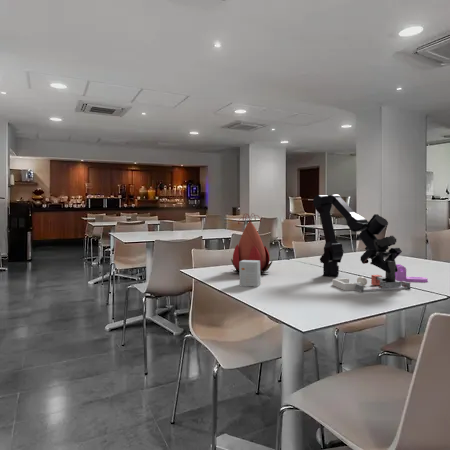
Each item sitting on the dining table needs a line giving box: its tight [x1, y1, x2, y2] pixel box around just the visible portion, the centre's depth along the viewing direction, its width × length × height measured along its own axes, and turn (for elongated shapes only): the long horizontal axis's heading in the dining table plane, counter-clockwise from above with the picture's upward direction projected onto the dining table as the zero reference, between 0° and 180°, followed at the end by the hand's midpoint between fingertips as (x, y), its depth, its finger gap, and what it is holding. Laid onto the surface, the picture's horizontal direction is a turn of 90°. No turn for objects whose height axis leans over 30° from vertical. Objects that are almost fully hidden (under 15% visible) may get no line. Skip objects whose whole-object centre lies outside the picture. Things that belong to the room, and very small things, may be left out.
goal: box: [332, 277, 361, 291], centre depth 155 cm, size 7×10×2 cm
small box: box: [238, 260, 262, 288], centre depth 160 cm, size 8×6×10 cm
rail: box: [355, 281, 411, 293], centre depth 150 cm, size 22×4×2 cm, turn 102°
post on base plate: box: [370, 260, 401, 288], centre depth 154 cm, size 7×11×11 cm, turn 12°
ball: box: [356, 276, 368, 287], centre depth 156 cm, size 4×4×4 cm
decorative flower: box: [230, 213, 274, 274], centre depth 188 cm, size 22×23×30 cm
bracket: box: [395, 263, 428, 283], centre depth 166 cm, size 13×6×7 cm, turn 78°
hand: (393, 272), depth 149 cm, fingers closed on post on base plate, 4 cm apart
